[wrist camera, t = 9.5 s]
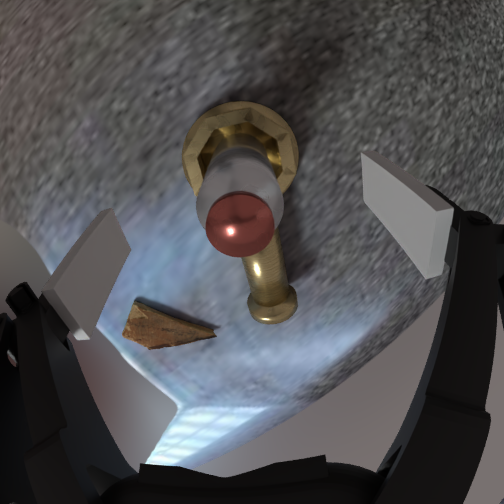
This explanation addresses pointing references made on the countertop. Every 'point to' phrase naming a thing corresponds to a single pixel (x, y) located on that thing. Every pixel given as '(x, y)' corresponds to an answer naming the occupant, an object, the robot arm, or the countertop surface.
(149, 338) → the shard
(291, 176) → the fitting
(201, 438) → the countertop surface
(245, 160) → the red-capped grey tube
